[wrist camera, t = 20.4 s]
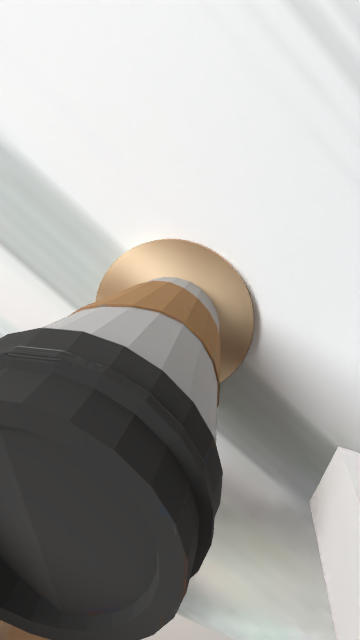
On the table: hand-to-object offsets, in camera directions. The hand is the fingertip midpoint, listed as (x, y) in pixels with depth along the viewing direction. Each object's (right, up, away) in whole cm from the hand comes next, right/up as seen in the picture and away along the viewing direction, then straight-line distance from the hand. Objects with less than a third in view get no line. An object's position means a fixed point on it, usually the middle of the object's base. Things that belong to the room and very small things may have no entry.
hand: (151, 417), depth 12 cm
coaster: (+1, +4, +10) cm, 10 cm away
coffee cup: (+1, +4, +9) cm, 10 cm away
